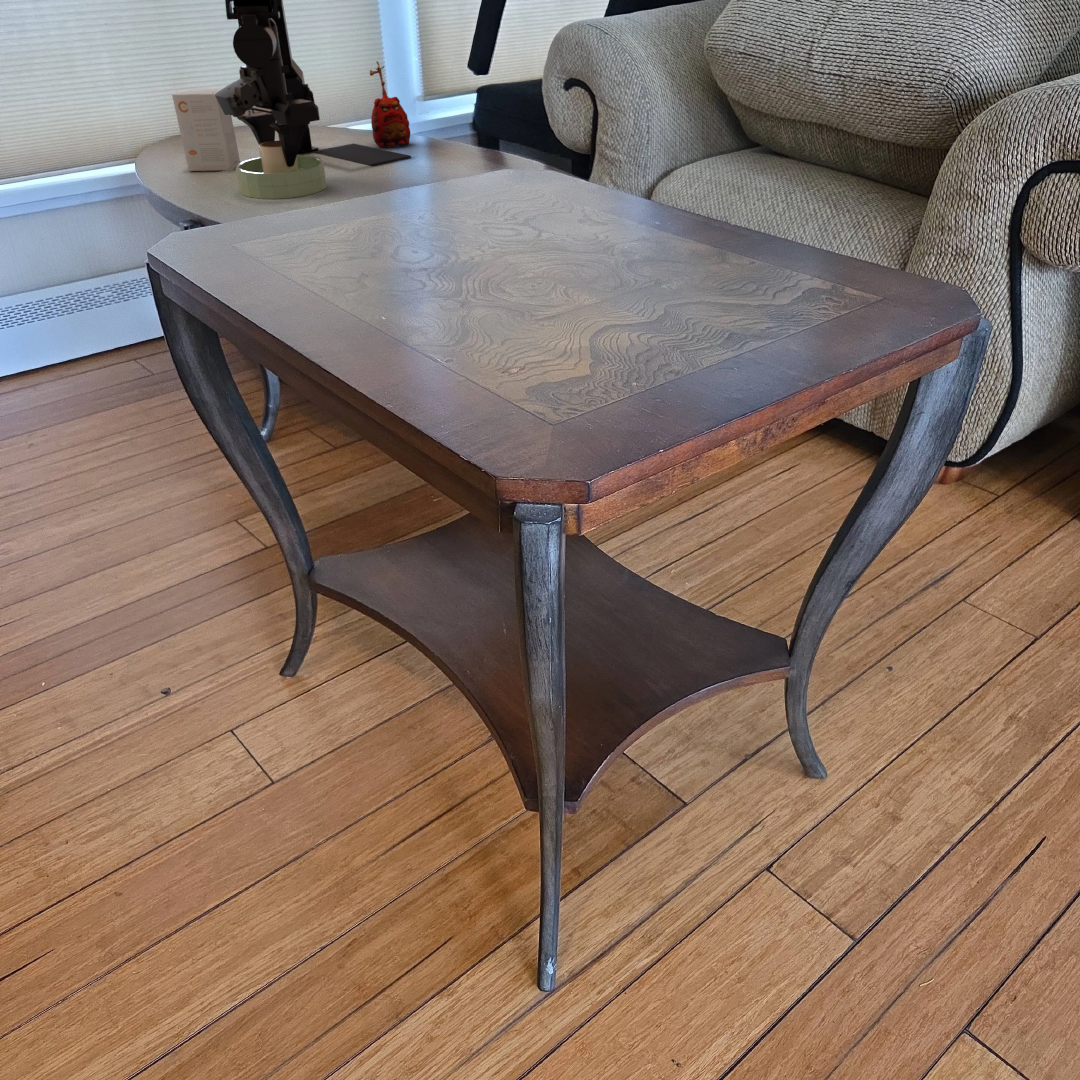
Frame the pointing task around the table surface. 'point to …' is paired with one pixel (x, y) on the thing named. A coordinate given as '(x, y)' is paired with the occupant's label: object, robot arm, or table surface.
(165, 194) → the table surface
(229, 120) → the small box
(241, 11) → the robot arm
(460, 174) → the table surface
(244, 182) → the bowl
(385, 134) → the red clay folk toy
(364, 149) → the mat
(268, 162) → the cup
